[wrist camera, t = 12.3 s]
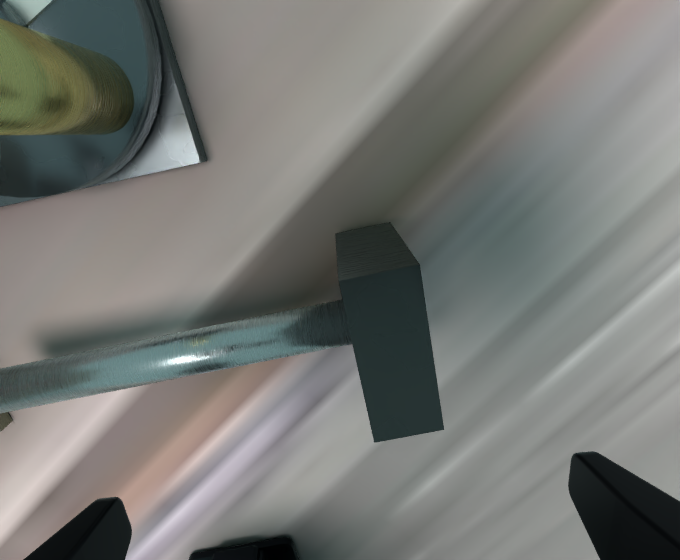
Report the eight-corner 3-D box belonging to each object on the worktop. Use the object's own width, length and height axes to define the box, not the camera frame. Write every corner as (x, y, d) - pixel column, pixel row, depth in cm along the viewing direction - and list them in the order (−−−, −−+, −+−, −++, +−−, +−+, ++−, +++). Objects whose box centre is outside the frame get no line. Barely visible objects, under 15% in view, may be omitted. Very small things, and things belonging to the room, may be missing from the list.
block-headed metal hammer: (410, 344, 20) (444, 429, 14) (48, 414, 20) (-59, 523, 15) (390, 222, 18) (419, 264, 12) (-11, 306, 18) (-162, 383, 13)
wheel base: (207, 160, 17) (200, 162, 17) (-14, 209, 18) (-33, 213, 17) (116, -136, 14) (101, -155, 13) (-154, -67, 15) (-187, -81, 14)
